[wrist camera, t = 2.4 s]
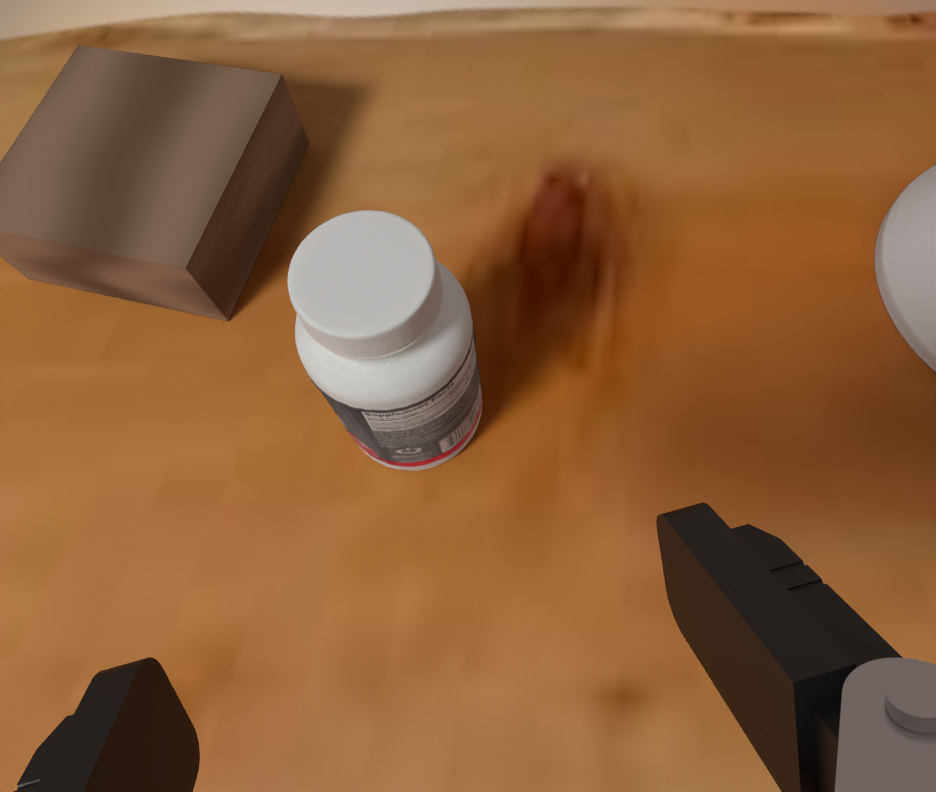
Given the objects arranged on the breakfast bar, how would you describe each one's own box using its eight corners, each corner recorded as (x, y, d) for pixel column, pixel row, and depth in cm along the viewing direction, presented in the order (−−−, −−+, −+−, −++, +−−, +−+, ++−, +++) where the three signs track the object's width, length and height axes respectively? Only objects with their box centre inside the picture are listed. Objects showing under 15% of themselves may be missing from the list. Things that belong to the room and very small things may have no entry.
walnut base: (28, 278, 30) (-40, 223, 27) (126, 113, 34) (78, 44, 30) (228, 321, 29) (185, 268, 25) (308, 143, 32) (281, 74, 29)
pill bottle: (331, 376, 27) (239, 227, 18) (453, 328, 28) (422, 160, 19) (373, 496, 25) (292, 393, 16) (505, 443, 26) (496, 314, 17)
